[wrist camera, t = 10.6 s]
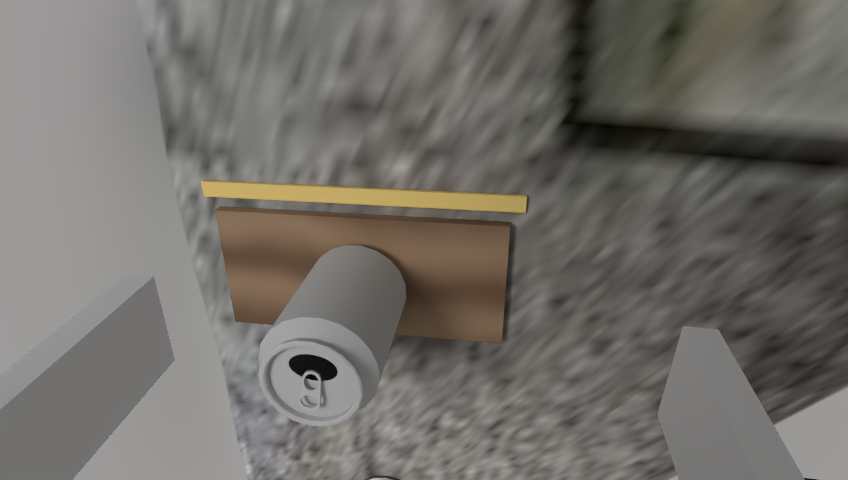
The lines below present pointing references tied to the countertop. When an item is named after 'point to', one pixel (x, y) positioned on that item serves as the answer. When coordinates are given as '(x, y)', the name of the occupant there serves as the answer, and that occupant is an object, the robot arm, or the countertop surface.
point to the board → (392, 237)
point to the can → (333, 337)
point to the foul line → (366, 196)
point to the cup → (381, 478)
